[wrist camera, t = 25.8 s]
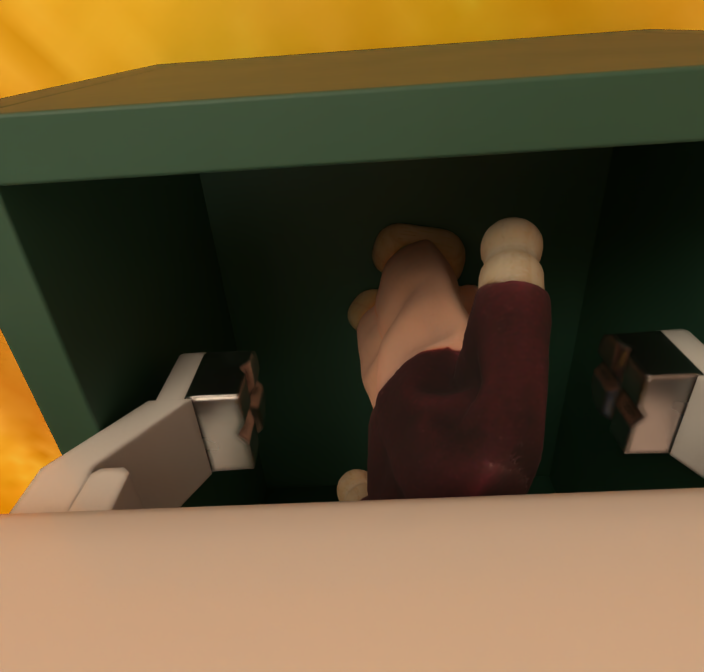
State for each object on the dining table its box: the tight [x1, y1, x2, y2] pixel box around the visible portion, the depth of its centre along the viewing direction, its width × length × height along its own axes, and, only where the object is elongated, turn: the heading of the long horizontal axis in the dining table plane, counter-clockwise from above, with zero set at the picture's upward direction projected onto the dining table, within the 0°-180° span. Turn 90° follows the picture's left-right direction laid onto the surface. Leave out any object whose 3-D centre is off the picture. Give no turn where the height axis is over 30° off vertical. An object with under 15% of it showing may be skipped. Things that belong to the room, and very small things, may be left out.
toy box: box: [0, 29, 704, 507], centre depth 13 cm, size 16×13×9 cm
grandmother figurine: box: [337, 217, 552, 501], centre depth 10 cm, size 8×4×13 cm, turn 169°
